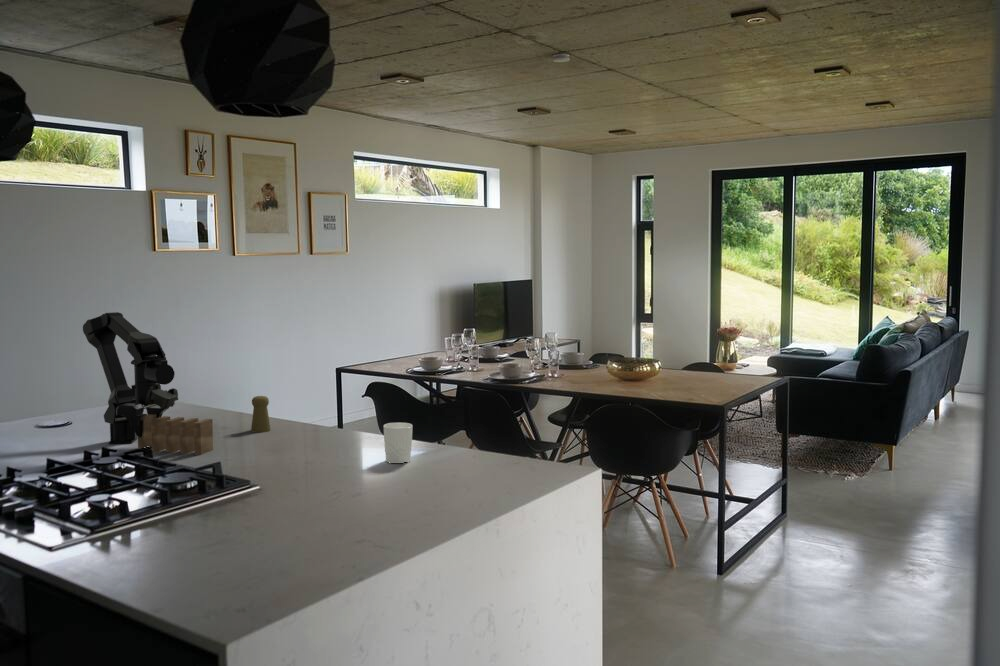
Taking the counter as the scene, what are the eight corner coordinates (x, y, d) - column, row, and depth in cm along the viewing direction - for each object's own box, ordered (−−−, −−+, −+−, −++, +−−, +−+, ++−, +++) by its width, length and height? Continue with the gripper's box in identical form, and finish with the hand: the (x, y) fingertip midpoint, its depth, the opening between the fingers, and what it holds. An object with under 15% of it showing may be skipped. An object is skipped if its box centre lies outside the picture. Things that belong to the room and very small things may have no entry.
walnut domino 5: (194, 454, 224) (193, 422, 223) (206, 449, 230) (206, 418, 229) (201, 454, 224) (200, 423, 223) (213, 449, 229) (212, 419, 229)
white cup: (377, 462, 217) (377, 426, 216) (394, 456, 224) (394, 421, 223) (401, 466, 214) (401, 429, 213) (418, 459, 221) (418, 424, 220)
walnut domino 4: (180, 453, 225) (179, 422, 224) (192, 448, 231) (192, 417, 230) (186, 453, 225) (185, 422, 224) (199, 448, 230) (198, 418, 229)
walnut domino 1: (138, 448, 228) (137, 417, 227) (151, 444, 233) (150, 413, 233) (144, 449, 227) (143, 418, 226) (157, 444, 233) (156, 414, 232)
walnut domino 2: (152, 451, 227) (151, 420, 226) (165, 446, 233) (164, 416, 232) (158, 451, 226) (157, 420, 225) (171, 447, 232) (170, 416, 231)
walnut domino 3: (166, 452, 226) (165, 421, 225) (178, 447, 232) (178, 417, 231) (172, 452, 225) (171, 421, 225) (185, 448, 231) (184, 417, 230)
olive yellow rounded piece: (267, 432, 252) (266, 398, 251) (248, 432, 252) (247, 397, 251) (273, 428, 258) (272, 394, 257) (254, 428, 258) (253, 394, 257)
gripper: (149, 387, 218) (151, 443, 219) (190, 377, 236) (191, 429, 237) (114, 385, 220) (116, 441, 222) (156, 375, 238) (158, 427, 240)
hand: (147, 434), depth 230 cm, fingers open, 6 cm apart
